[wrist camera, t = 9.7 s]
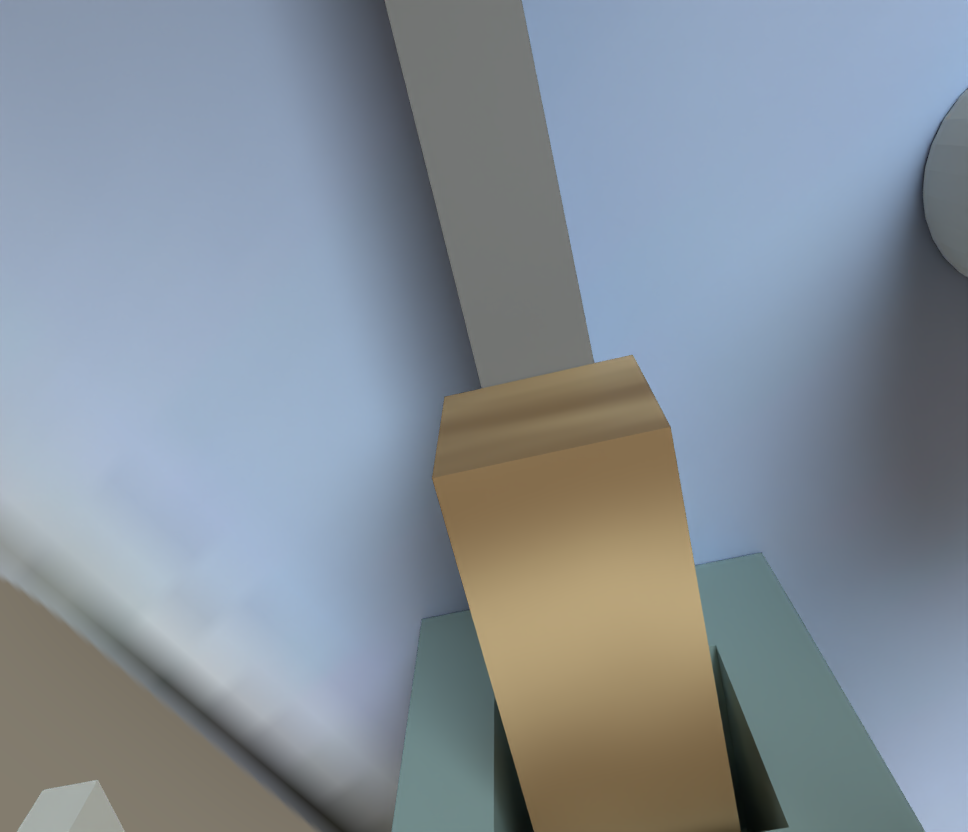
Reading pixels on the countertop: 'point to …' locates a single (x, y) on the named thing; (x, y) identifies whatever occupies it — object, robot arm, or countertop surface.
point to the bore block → (743, 707)
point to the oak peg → (587, 599)
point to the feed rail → (493, 183)
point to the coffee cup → (949, 186)
